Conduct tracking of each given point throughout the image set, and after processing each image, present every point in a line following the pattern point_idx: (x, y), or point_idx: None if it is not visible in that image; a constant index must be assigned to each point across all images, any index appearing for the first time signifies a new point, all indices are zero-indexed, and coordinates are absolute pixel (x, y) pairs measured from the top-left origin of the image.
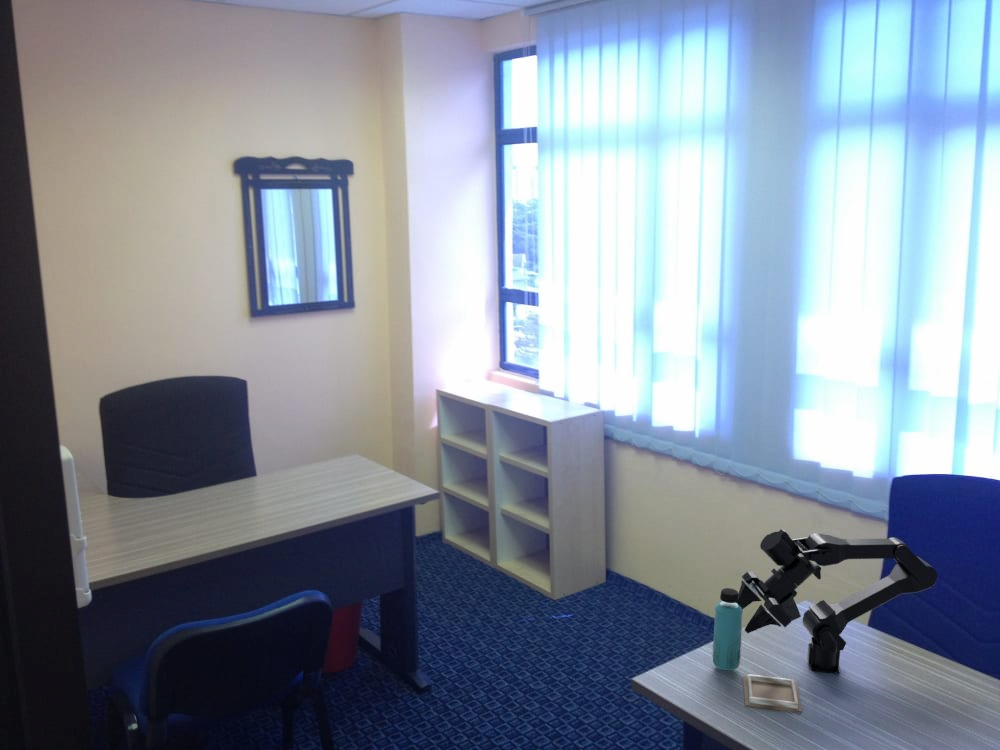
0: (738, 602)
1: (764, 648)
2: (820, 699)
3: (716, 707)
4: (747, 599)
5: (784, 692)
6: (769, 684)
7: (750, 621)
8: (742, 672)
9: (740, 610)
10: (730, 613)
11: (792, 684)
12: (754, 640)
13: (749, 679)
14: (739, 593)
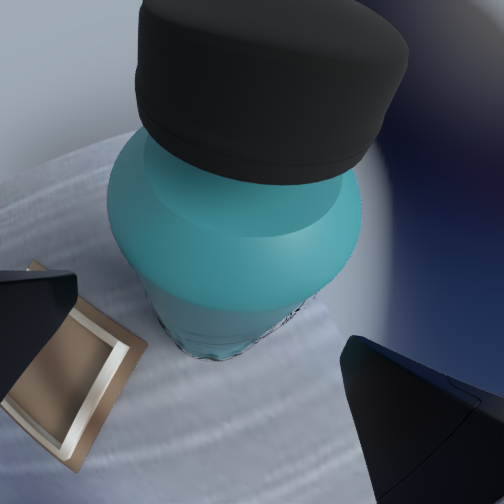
0: (393, 378)
1: (305, 498)
2: (10, 464)
3: (64, 196)
4: (402, 468)
5: (38, 400)
6: (82, 392)
7: (14, 274)
8: (179, 361)
9: (132, 235)
10: (135, 134)
11: (40, 435)
12: (356, 483)
13: (95, 329)
14: (472, 392)
